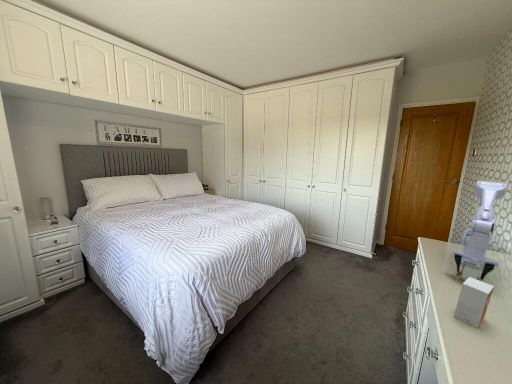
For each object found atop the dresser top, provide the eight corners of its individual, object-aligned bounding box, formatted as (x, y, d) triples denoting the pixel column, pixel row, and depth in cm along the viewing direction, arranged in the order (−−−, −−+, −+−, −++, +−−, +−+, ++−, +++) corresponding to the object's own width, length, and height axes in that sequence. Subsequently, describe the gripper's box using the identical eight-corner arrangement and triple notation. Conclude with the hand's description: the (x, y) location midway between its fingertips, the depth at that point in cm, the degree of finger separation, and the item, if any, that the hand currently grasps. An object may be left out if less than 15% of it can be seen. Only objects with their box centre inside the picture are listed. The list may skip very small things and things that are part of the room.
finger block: (460, 275, 99) (464, 262, 98) (474, 280, 96) (478, 266, 95) (460, 280, 95) (464, 266, 94) (475, 285, 92) (479, 270, 91)
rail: (456, 268, 107) (458, 258, 106) (478, 275, 102) (481, 264, 100) (455, 281, 96) (458, 270, 94) (480, 290, 90) (484, 278, 89)
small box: (478, 329, 70) (488, 294, 67) (453, 316, 75) (461, 283, 72) (484, 319, 74) (494, 285, 71) (460, 307, 79) (468, 276, 77)
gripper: (454, 243, 94) (447, 271, 97) (503, 255, 85) (494, 286, 87) (454, 239, 99) (448, 265, 102) (501, 250, 90) (492, 279, 92)
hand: (469, 274), depth 95 cm, fingers open, 7 cm apart
